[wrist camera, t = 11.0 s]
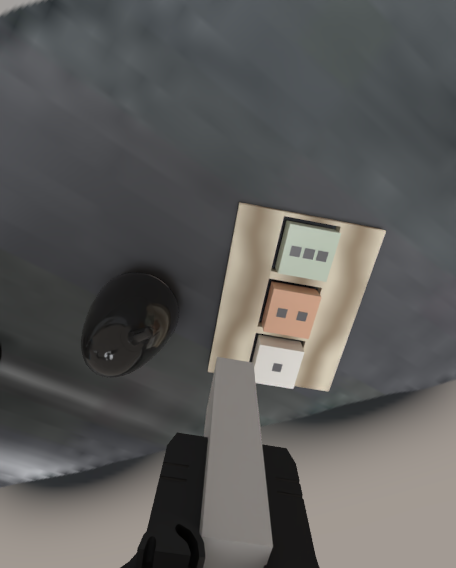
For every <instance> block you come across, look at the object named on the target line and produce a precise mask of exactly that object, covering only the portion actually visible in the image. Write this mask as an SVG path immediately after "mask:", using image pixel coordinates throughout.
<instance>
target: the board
mask: <svg viewBox="0 0 456 568" xmlns="http://www.w3.org/2000/svg"><path fill="white" fill-rule="evenodd" d="M284 216H286V217H292V218H297V219H302V220H308V221H313V222H318V223H324V224H329V225H334V226H336V229H335V230H336V231H338V232H340V233H341V236H340V239H339V242H338V246H337V249H336V252H335V255H334V259H333V262H332V265H331V268H330V272H329V275H328V278H327V281H326V282H324V281H318V280H313V279H307V278H301V277H296V276H290V275H285V274H279V273H277V270H276V269H274V268H272V264H273V260H274V256H275V252H276V247H277V243H278V239H279V235H280V231H281V227H282V223H283V218H284ZM385 233H386V231H385V230H382V229H379V228H374V227H368V226H363V225H358V224H353V223H347V222H342V221H337V220H331V219H326V218H321V217H316V216H310V215H305V214H300V213H294V212H289V211H284V210H279V209H273V208H268V207H263V206H257V205H252V204H247V203H241V202H239V206H238V212H237V217H236V222H235V228H234V233H233V238H232V244H231V249H230V254H229V259H228V265H227V270H226V275H225V281H224V286H223V291H222V297H221V302H220V307H219V312H218V318H217V323H216V328H215V334H214V339H213V344H212V350H211V355H210V360H209V366H208V372H212V373H214V370H215V365H216V360H217V357H222V358H228V359H234V360H240V361H246V362H249V360H250V356H251V351H252V347H253V343H254V339H255V335H256V333H260V334H266V335H272V336H277V337H283V338H289V339H295V340H301V341H302V342H301V344H302V347H303V349H304V356H303V359H302V362H301V365H300V369H299V372H298V375H297V378H296V382H295V385H294V386H298V387H304V388H311V389H317V390H323V391H329V389H330V386H331V383H332V381H333V378H334V375H335V372H336V370H337V367H338V364H339V361H340V358H341V356H342V353H343V350H344V347H345V344H346V342H347V339H348V336H349V333H350V330H351V328H352V325H353V322H354V319H355V317H356V314H357V311H358V308H359V305H360V303H361V300H362V297H363V294H364V291H365V289H366V286H367V283H368V280H369V277H370V275H371V272H372V269H373V266H374V263H375V261H376V258H377V255H378V252H379V250H380V247H381V244H382V241H383V238H384V236H385ZM269 279H275V280H280V281H286V282H292V283H297V284H303V285H309V286H314V287H318V289H317V291H318V293H319V294H320V295H321V301H320V304H319V307H318V310H317V314H316V317H315V320H314V323H313V327H312V330H311V333H310V336H309V339H305V338H299V337H293V336H287V335H281V334H276V333H270V332H264V331H263V327H262V322H259V318H260V314H261V310H262V306H263V302H264V297H265V293H266V289H267V285H268V281H269Z"/></svg>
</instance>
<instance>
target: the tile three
mask: <svg viewBox="0 0 456 568" xmlns="http://www.w3.org/2000/svg"><path fill="white" fill-rule="evenodd" d="M340 236H341V233H340V232H338V231H336V230H335V229H330V228H325V227H320V226H314V225H309V224H304V223H298V222H293V221H288V220H286V224H285V228H284V232H283V236H282V240H281V244H280V248H279V252H278V256H277V261H276V265H275V268H276V270H277V273H279V274H285V275H290V276H296V277H301V278H307V279H313V280H318V281H324V282H326V281H327V278H328V275H329V272H330V268H331V265H332V262H333V259H334V255H335V252H336V249H337V246H338V242H339V239H340Z"/></svg>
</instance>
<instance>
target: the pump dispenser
mask: <svg viewBox="0 0 456 568" xmlns="http://www.w3.org/2000/svg"><path fill="white" fill-rule="evenodd" d="M178 318H179V308H178V304H177V301H176V298H175V296H174V294H173V293H172V291H171V290H170V289H169V287H168V286H167V285H166V284H165V283H164V282H162V281H161V280H160V279H158V278H156V277H154V276H151V275H148V274H143V273H125V274H122V275H119V276H117V277H115V278H113V279H112V280H110V281H109V282H108V283H107V284H106V285H105V286H104V287H103V288H102V289H101V290H100V292H99V293H98V295H97V296H96V298H95V300H94V301H93V303H92V305H91V307H90V309H89V311H88V314H87V317H86V319H85V323H84V326H83V330H82V337H81V350H82V355H83V358H84V361H85V363H86V365H87V366H88V367H89V368H90V369H91V370H92V371H93V372H94V373H96V374H98V375H100V376H103V377H119V376H123V375H126V374H129V373H131V372H133V371H135V370H137V369H139V368H140V367H142V366H143V365H144V364H146V363H147V362H148V361H149V360H150V359H152V358H153V357H154V356H155V355H156V354H157V353H158V352H159V351H160V350H161V349H162V348H163V347H164V345H165V344H166V343H167V341H168V340H169V339H170V337H171V336H172V334H173V332H174V330H175V328H176V326H177V323H178Z"/></svg>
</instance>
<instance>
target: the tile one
mask: <svg viewBox="0 0 456 568" xmlns="http://www.w3.org/2000/svg"><path fill="white" fill-rule="evenodd" d="M303 356H304V349H303V347H302V344H301V342H300V341H294V340H288V339H282V338H276V337H270V336H264V335H258V338H257V342H256V347H255V351H254V355H253V359H252V363H254V373H255V382H256V383H259V384H265V385H272V386H278V387H284V388H290V389H293V388H294V385H295V382H296V378H297V375H298V372H299V369H300V365H301V362H302V359H303Z"/></svg>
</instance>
